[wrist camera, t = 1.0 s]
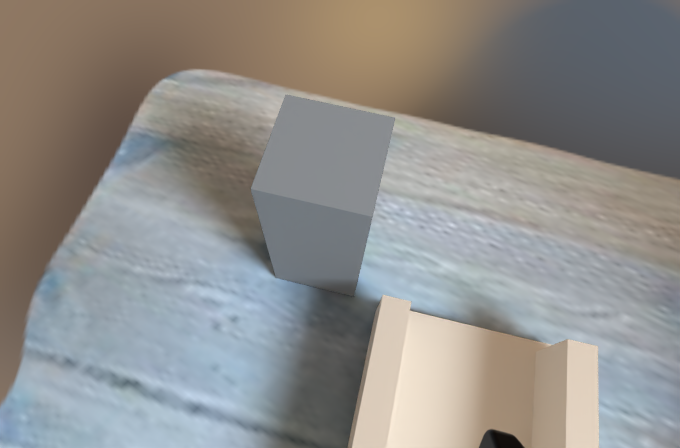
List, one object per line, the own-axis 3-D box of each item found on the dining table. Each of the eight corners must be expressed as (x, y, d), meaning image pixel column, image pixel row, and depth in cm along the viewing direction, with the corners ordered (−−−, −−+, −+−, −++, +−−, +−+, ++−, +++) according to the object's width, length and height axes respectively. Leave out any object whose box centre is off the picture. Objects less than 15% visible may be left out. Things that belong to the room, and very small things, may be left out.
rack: (548, 608, 17) (600, 647, 14) (326, 546, 18) (327, 570, 15) (556, 349, 22) (597, 334, 18) (375, 306, 22) (385, 283, 19)
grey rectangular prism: (353, 296, 22) (372, 216, 14) (276, 277, 23) (250, 189, 15) (370, 225, 24) (395, 118, 16) (297, 208, 24) (285, 94, 16)
